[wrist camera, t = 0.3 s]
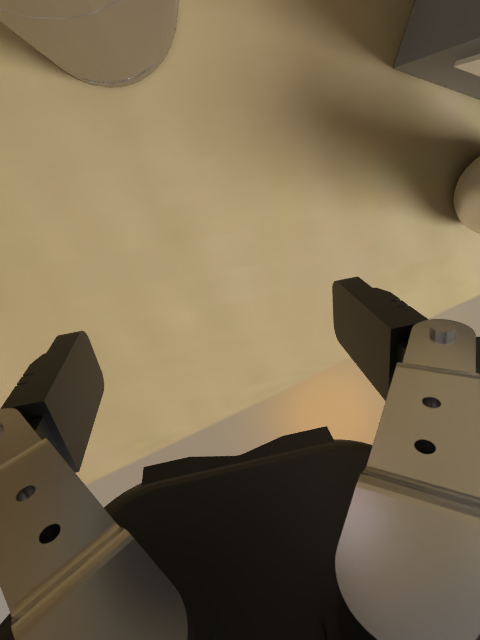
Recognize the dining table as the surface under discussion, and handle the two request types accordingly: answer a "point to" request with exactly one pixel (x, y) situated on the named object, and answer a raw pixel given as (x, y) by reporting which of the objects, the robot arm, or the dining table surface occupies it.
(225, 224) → the dining table surface
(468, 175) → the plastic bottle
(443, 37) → the box
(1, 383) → the dining table surface
